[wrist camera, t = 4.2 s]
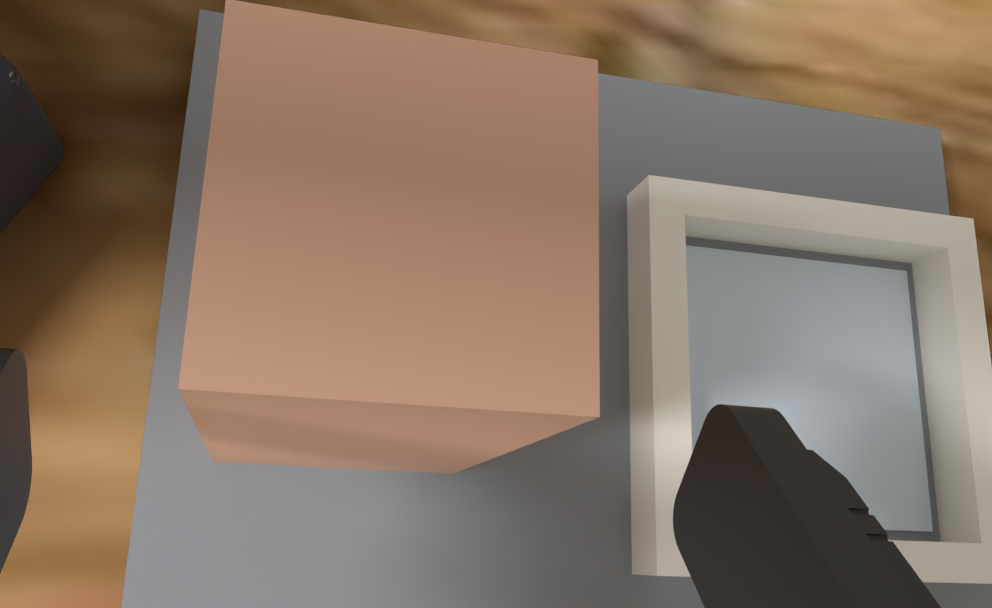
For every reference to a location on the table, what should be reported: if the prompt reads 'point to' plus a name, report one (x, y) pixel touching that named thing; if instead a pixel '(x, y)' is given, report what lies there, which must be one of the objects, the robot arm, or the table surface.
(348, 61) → the pillar block
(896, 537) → the build board
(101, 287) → the table surface
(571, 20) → the table surface
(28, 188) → the calculator
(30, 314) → the table surface
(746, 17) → the table surface
